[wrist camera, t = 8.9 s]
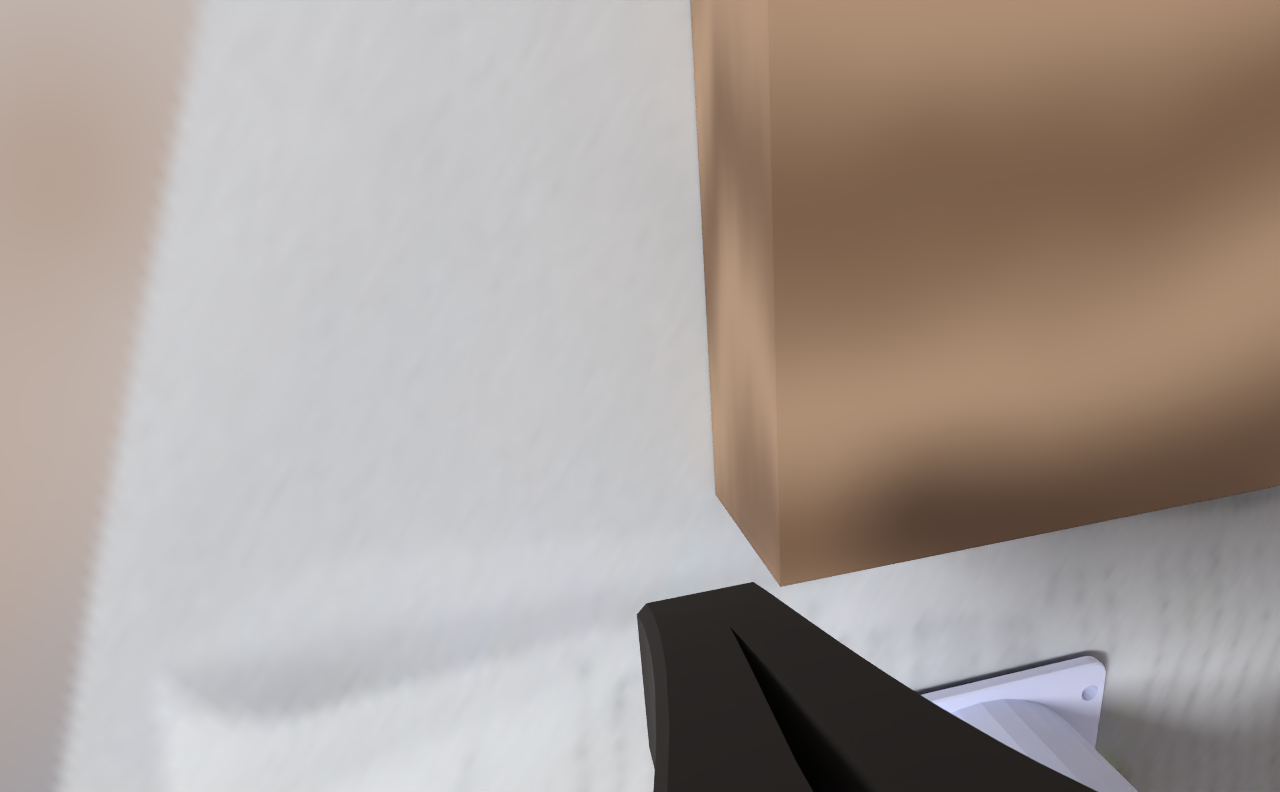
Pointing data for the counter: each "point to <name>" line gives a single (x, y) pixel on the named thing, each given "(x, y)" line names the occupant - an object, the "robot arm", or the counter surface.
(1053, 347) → the wooden block
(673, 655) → the robot arm
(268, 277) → the counter surface
